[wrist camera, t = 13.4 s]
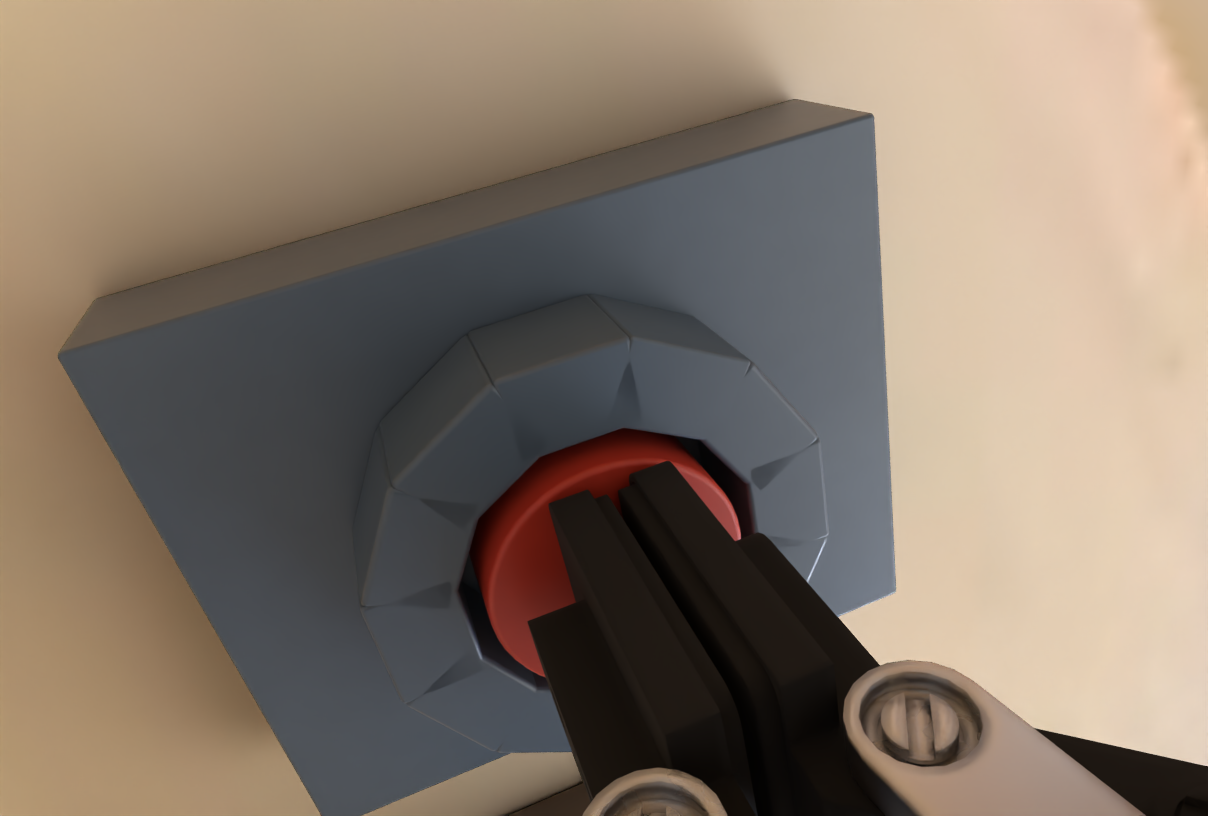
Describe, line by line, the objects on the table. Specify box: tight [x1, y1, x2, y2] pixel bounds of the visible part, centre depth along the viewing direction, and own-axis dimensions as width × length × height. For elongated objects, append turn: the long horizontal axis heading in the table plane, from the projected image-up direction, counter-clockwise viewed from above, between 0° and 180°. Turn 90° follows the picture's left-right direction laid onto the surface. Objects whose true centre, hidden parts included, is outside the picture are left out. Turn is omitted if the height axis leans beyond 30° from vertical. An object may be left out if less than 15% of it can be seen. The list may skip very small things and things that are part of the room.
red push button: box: [469, 428, 741, 677], centre depth 12 cm, size 4×4×2 cm
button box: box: [58, 99, 896, 816], centre depth 13 cm, size 11×9×4 cm
